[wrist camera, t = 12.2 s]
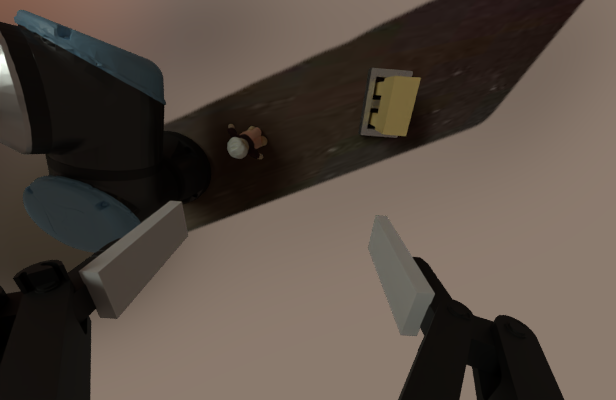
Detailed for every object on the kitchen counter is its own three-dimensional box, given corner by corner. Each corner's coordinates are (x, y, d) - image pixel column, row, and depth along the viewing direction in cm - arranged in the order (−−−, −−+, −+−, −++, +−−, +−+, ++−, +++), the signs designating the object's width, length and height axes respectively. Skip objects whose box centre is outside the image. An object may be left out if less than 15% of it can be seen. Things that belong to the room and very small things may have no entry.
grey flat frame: (358, 133, 45) (360, 134, 43) (368, 69, 40) (372, 67, 38) (393, 135, 45) (397, 137, 43) (408, 72, 40) (413, 71, 38)
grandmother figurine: (275, 139, 45) (264, 155, 34) (265, 154, 47) (250, 174, 35) (242, 114, 43) (218, 122, 32) (232, 130, 45) (205, 143, 33)
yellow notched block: (368, 125, 44) (383, 134, 35) (376, 79, 41) (395, 75, 32) (386, 127, 44) (406, 136, 35) (396, 81, 41) (420, 77, 32)
